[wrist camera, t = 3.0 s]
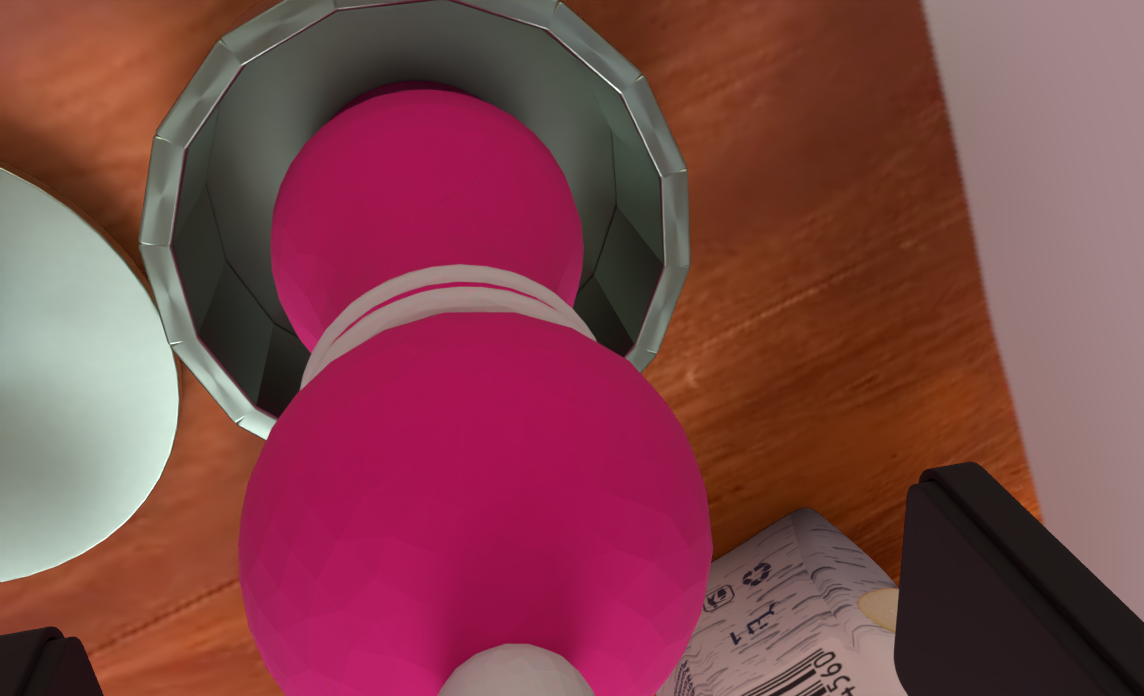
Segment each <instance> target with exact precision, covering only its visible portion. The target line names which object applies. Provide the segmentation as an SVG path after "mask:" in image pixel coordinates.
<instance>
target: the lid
mask: <svg viewBox="0 0 1144 696" xmlns="http://www.w3.org/2000/svg"><path fill="white" fill-rule="evenodd" d="M182 398H183V389H182V374H181V364H180V360H179V357H178V356H177V355H176V353H175V352H174V351H173V350H172V349H171V347H170V345H169V344H168V342H167V339H166V335H165V332H164V329H163V326H162V322H161V319H160V316H159V312H158V309H157V306H156V303H155V299H154V296H153V293H152V289H151V286H150V284H149V282H148V281H147V279H146V278H145V276H144V275H143V274H142V272H141V271H140V270H139V268H138V267H137V265H136V264H135V263H134V261H133V260H132V258H131V257H130V256H129V254H128V253H127V252H126V251H125V250H124V249H123V248H122V247H121V246H120V245H119V244H118V243H117V242H116V240H115V239H114V238H113V237H112V236H111V235H110V234H109V233H108V232H107V231H106V230H105V229H104V228H103V227H102V226H101V225H100V224H98V223H97V222H96V221H95V220H94V219H93V218H91V217H90V216H89V215H88V214H87V213H86V212H84V211H83V210H82V209H81V208H80V207H79V206H77V205H76V204H75V203H73V202H72V201H70V200H69V199H67V198H66V197H64V196H63V195H61V194H60V193H58V192H57V191H56V190H54V189H53V188H51V187H50V186H48V185H47V184H45V183H44V182H42V181H40V180H38V179H36V178H34V177H32V176H30V175H29V174H27V173H25V172H23V171H21V170H19V169H17V168H15V167H14V166H12V165H10V164H8V163H5V162H3V161H0V583H1V582H5V581H9V580H14V579H18V578H22V577H26V576H30V575H33V574H36V573H39V572H41V571H44V570H47V569H50V568H53V567H56V566H58V565H60V564H62V563H64V562H66V561H69V560H71V559H73V558H75V557H77V556H79V555H81V554H83V553H85V552H86V551H88V550H89V549H91V548H92V547H94V546H95V545H97V544H99V543H100V542H102V541H103V540H105V539H106V538H108V537H109V536H110V535H111V534H113V533H114V532H115V531H116V530H117V529H118V528H120V527H121V526H122V525H123V524H124V523H125V522H127V521H128V520H129V519H130V518H131V517H132V515H133V514H134V513H135V512H136V511H137V510H138V509H139V507H140V506H141V505H142V504H143V503H144V502H145V501H146V500H147V498H148V496H149V495H150V493H151V492H152V490H153V489H154V487H155V486H156V484H157V482H158V481H159V479H160V478H161V476H162V474H163V471H164V469H165V467H166V464H167V462H168V460H169V458H170V455H171V453H172V450H173V447H174V444H175V440H176V436H177V432H178V428H179V424H180V420H181V409H182Z"/></svg>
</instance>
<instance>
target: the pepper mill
mask: <svg viewBox="0 0 1144 696" xmlns="http://www.w3.org/2000/svg"><path fill="white" fill-rule="evenodd" d="M583 251H584V247H583V236H582V225H581V220H580V217H579V214H578V211H577V208H576V205H575V202H574V199H573V196H572V193H571V190H570V187H569V185H568V182H567V180H566V177H565V174H564V173H563V171H562V169H561V168H560V166H559V165H558V163H557V161H556V160H555V158H554V157H553V155H552V153H551V152H550V150H549V149H548V148H547V147H546V146H545V145H544V143H543V142H542V141H541V140H540V139H539V138H538V137H537V136H536V135H535V133H534V132H532V131H531V130H530V129H529V128H527V127H526V126H525V125H524V124H522V123H521V122H520V121H519V120H517V119H516V118H515V117H514V116H512V115H510V114H508V113H506V112H505V111H503V110H501V109H499V108H497V107H496V106H494V105H492V104H490V103H487V102H485V101H482V100H481V99H480V98H478V97H477V96H475V95H473V94H471V93H468V92H466V91H464V90H462V89H459V88H457V87H454V86H451V85H447V84H442V83H437V82H432V81H401V82H396V83H392V84H387V85H383V86H380V87H377V88H375V89H372V90H370V91H368V92H365V93H363V94H361V95H359V96H358V97H356V98H355V99H353V100H352V101H350V102H349V103H347V104H346V105H345V106H344V107H342V108H341V109H340V110H339V111H338V112H337V113H335V115H334V116H333V117H332V118H331V119H330V120H329V122H328V123H326V124H325V125H324V126H323V127H322V128H321V129H320V130H319V131H318V132H317V133H315V134H314V135H313V136H312V137H311V138H310V139H309V140H308V141H307V142H306V143H305V145H304V146H303V147H302V149H301V150H300V152H299V153H298V154H297V156H296V157H295V158H294V160H293V161H292V163H291V164H290V166H289V168H288V170H287V172H286V174H285V177H284V179H283V181H282V183H281V185H280V187H279V191H278V194H277V198H276V201H275V205H274V209H273V217H272V227H271V262H272V273H273V277H274V281H275V285H276V289H277V293H278V297H279V300H280V302H281V304H282V306H283V308H284V310H285V312H286V314H287V316H288V318H289V320H290V322H291V324H292V326H293V328H294V330H295V331H296V333H297V335H298V337H299V339H300V340H301V341H302V343H303V344H304V345H305V346H306V348H307V349H308V350H309V351H310V353H311V356H310V358H309V361H308V363H307V366H306V369H305V371H304V374H303V377H302V382H301V387H300V391H299V392H298V393H297V395H296V396H295V397H294V399H293V400H292V401H291V403H290V404H289V405H288V407H287V408H286V409H285V411H284V412H283V413H282V415H281V416H280V417H279V419H278V420H277V421H276V423H275V424H274V425H273V427H272V428H271V431H270V433H269V435H268V437H267V440H266V442H265V444H264V447H263V449H262V451H261V454H260V456H259V458H258V461H257V463H256V465H255V468H254V470H253V472H252V475H251V477H250V479H249V482H248V485H247V490H246V495H245V500H244V505H243V510H242V515H241V524H240V534H239V544H238V546H239V579H240V584H241V589H242V595H243V600H244V605H245V610H246V615H247V620H248V625H249V628H250V631H251V633H252V636H253V638H254V640H255V643H256V645H257V648H258V650H259V652H260V655H261V657H262V659H263V662H264V664H265V667H266V668H267V669H268V671H269V672H270V674H271V675H272V676H273V678H274V679H275V681H276V682H277V684H278V685H279V686H280V688H281V689H282V691H283V692H284V693H285V695H286V696H653V695H654V694H655V693H656V692H657V691H658V690H659V688H660V687H661V686H662V685H663V684H664V683H665V681H666V680H667V679H668V678H669V676H670V675H671V673H672V671H673V670H674V668H675V667H676V665H677V664H678V662H679V660H680V659H681V657H682V656H683V654H684V652H685V650H686V648H687V645H688V643H689V641H690V638H691V636H692V634H693V631H694V629H695V627H696V625H697V622H698V620H699V618H700V615H701V612H702V608H703V604H704V600H705V595H706V589H707V583H708V578H709V572H710V566H711V560H712V554H713V543H712V534H711V525H710V517H709V508H708V500H707V493H706V488H705V485H704V482H703V479H702V476H701V473H700V470H699V467H698V464H697V461H696V458H695V456H694V453H693V451H692V448H691V446H690V443H689V441H688V438H687V436H686V433H685V431H684V429H683V427H682V426H681V424H680V423H679V421H678V420H677V418H676V417H675V415H674V414H673V412H672V411H671V409H670V408H669V406H668V404H667V403H666V402H665V401H664V399H663V398H662V397H661V396H660V395H659V393H658V392H657V391H656V390H655V389H654V388H653V387H652V386H651V385H650V383H649V382H648V381H647V380H646V379H645V378H644V377H643V376H642V374H641V373H640V372H639V371H638V370H637V369H636V368H635V367H634V365H633V364H632V363H631V362H630V361H629V360H627V359H625V358H623V357H622V356H620V355H618V354H616V353H615V352H613V351H611V350H610V349H608V348H606V347H604V346H603V345H601V344H599V343H597V341H596V339H595V337H594V335H593V334H592V333H591V331H590V330H589V328H588V327H587V325H586V324H585V323H584V321H583V320H582V319H581V318H580V317H579V316H578V314H577V313H576V312H575V311H574V310H573V309H572V308H573V305H574V301H575V297H576V294H577V290H578V287H579V282H580V277H581V272H582V263H583Z"/></svg>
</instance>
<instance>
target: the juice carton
mask: <svg viewBox="0 0 1144 696" xmlns="http://www.w3.org/2000/svg"><path fill="white" fill-rule="evenodd" d="M898 595H899V588H898V586H897V585H896V584H895V583H894V582H893V581H892V580H891V578H890V577H889V576H888V575H887V574H886V573H885V572H884V571H883V570H882V569H881V568H880V567H879V566H878V565H877V564H876V563H875V562H874V561H873V560H872V559H871V558H870V557H869V556H868V555H867V554H866V553H864V552H863V551H862V550H861V549H860V548H859V547H858V546H857V545H855V544H854V543H853V542H852V541H851V540H850V539H849V538H848V537H846V536H845V535H844V534H843V533H842V532H841V531H839V530H838V529H837V528H836V527H835V526H834V525H832V524H831V523H830V522H829V521H828V520H826V519H825V518H824V517H823V516H822V515H820V514H819V513H817V512H816V511H815V510H812V509H810V508H802V509H798V510H796V511H794V512H792V513H790V514H789V515H787V516H785V517H783V518H782V519H780V520H778V521H777V522H775V523H773V524H772V525H770V526H769V527H767V528H766V529H764V530H762V531H761V532H759V533H758V534H756V535H755V536H753V537H752V538H750V539H749V540H747V541H746V542H744V543H743V544H741V545H739V546H738V547H736V548H735V549H733V550H732V551H730V552H728V553H727V554H725V555H724V556H722V557H720V558H719V559H717V560H715V561H713V562H712V563H711V566H710V572H709V578H708V583H707V589H706V595H705V600H704V604H703V608H702V612H701V615H700V618H699V620H698V622H697V625H696V627H695V629H694V631H693V634H692V636H691V638H690V641H689V643H688V645H687V648H686V650H685V652H684V654H683V656H682V657H681V659H680V660H679V662H678V664H677V665H676V667H675V668H674V670H673V671H672V673H671V675H670V676H669V678H668V679H667V680H666V681H665V683H664V684H663V685H662V686H661V687H660V688H659V690H658V691H657V692H656V695H657V696H908V695H907V693H906V692H905V690H904V689H903V687H902V685H901V683H900V681H899V679H898V676H897V673H896V670H895V665H894V642H895V630H896V619H897V607H898Z"/></svg>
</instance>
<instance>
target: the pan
mask: <svg viewBox="0 0 1144 696" xmlns="http://www.w3.org/2000/svg"><path fill="white" fill-rule="evenodd" d="M401 81H432V82H437V83H442V84H447V85H451V86H454V87H457V88H459V89H462V90H464V91H466V92H468V93H471V94H473V95H475V96H477V97H478V98H480V99H481V100H482V101H485V102H487V103H490V104H492V105H494V106H496V107H497V108H499V109H501V110H503V111H505V112H506V113H508V114H510V115H512V116H514V117H515V118H516V119H517V120H519V121H520V122H521V123H522V124H524V125H525V126H526V127H527V128H529V129H530V130H531V131H532V132H534V133H535V135H536V136H537V137H538V138H539V139H540V140H541V141H542V142H543V143H544V145H545V146H546V147H547V148H548V149H549V150H550V152H551V153H552V155H553V157H554V158H555V160H556V161H557V163H558V165H559V166H560V168H561V169H562V171H563V173H564V174H565V177H566V180H567V182H568V185H569V187H570V190H571V193H572V196H573V199H574V202H575V205H576V208H577V211H578V214H579V217H580V220H581V225H582V236H583V247H584V251H583V263H582V272H581V277H580V282H579V287H578V290H577V294H576V297H575V301H574V305H573V308H572V309H573V310H574V311H575V312H576V313H577V314H578V316H579V317H580V318H581V319H582V320H583V321H584V323H585V324H586V325H587V327H588V328H589V330H590V331H591V333H592V334H593V335H594V337H595V339H596V341H597V343H599V344H601V345H603V346H604V347H606V348H608V349H610V350H611V351H613V352H615V353H616V354H618V355H620V356H622V357H623V358H625V359H627V360H629V361H630V362H631V363H632V364H633V365H634V367H635V368H636V369H637V370H638V371H639V372H640V373H642V371H643V370H644V369H645V368H646V367H647V366H648V365H649V364H650V362H651V361H652V360H653V359H654V358H655V357H656V353H658V352H659V349H660V346H661V344H662V341H663V338H664V336H665V333H666V330H667V328H668V325H669V322H670V320H671V317H672V314H673V312H674V309H675V306H676V304H677V301H678V298H679V296H680V293H681V290H682V288H683V285H684V282H685V280H686V277H687V274H688V271H689V269H690V266H689V265H690V264H691V256H690V223H689V190H688V170H687V168H686V163H685V161H684V158H683V156H682V154H681V152H680V150H679V148H678V145H677V143H676V141H675V139H674V137H673V135H672V133H671V130H670V128H669V126H668V124H667V122H666V120H665V118H664V115H663V113H662V111H661V109H660V107H659V105H658V103H657V100H656V98H655V96H654V94H653V92H652V90H651V87H650V85H649V83H648V81H647V79H646V77H645V76H644V75H643V74H642V72H641V70H640V69H639V68H637V67H636V66H635V65H634V64H633V63H632V62H631V61H630V60H628V59H627V58H626V57H625V56H624V55H623V54H622V53H620V52H619V51H618V50H617V49H616V48H615V47H614V46H613V45H611V44H610V43H609V42H608V41H607V40H606V39H605V38H603V37H602V36H601V35H600V34H599V33H598V32H597V31H596V30H594V29H593V28H592V27H591V26H590V25H589V24H588V23H586V22H585V21H584V20H583V19H582V18H581V17H580V16H579V15H577V14H576V13H575V12H574V11H573V10H572V9H571V8H569V7H568V6H567V5H566V4H565V3H564V2H562V1H561V0H262V1H260V2H259V3H257V4H255V5H254V6H252V7H250V8H249V9H248V10H247V11H246V12H245V13H243V14H242V15H241V16H240V17H239V19H238V20H237V21H236V22H235V23H234V24H233V25H232V26H231V27H230V28H229V29H228V30H227V31H226V32H225V33H224V34H223V35H222V36H221V37H220V38H219V39H218V40H217V41H216V43H215V44H214V45H213V47H212V48H211V50H210V51H209V53H208V54H207V56H206V57H205V59H204V60H203V62H202V63H201V65H200V66H199V68H198V69H197V71H196V72H195V74H194V75H193V76H192V78H191V79H190V81H189V82H188V84H187V85H186V87H185V88H184V90H183V91H182V93H181V94H180V96H179V97H178V99H177V100H176V102H175V103H174V104H173V106H172V107H171V109H170V110H169V112H168V113H167V115H166V116H165V118H164V119H163V121H162V122H161V124H160V125H159V127H158V128H157V130H156V133H155V136H154V137H153V142H152V149H151V156H150V162H149V169H148V176H147V183H146V190H145V197H144V204H143V211H142V218H141V224H140V231H139V238H138V240H139V243H140V244H139V250H140V253H141V256H142V260H143V263H144V266H145V270H146V273H147V276H148V279H149V283H150V286H151V289H152V293H153V296H154V299H155V303H156V306H157V309H158V312H159V316H160V319H161V322H162V326H163V329H164V332H165V335H166V339H167V342H168V344H169V345H170V347H171V349H172V350H173V351H174V352H175V353H176V355H177V356H178V357H179V358H180V359H181V361H182V362H183V363H184V364H185V365H186V366H187V368H188V369H189V370H190V371H191V372H192V374H193V375H194V376H195V377H196V378H197V379H198V381H199V382H200V383H201V384H202V385H203V387H204V388H205V389H206V390H207V391H208V392H209V394H210V395H211V396H212V397H213V398H214V400H215V401H216V402H217V403H218V404H219V405H220V407H221V408H222V409H223V410H224V411H225V413H226V414H227V415H228V416H229V417H230V418H231V420H232V421H233V422H234V423H236V424H237V425H238V426H240V427H242V428H243V429H245V430H247V431H249V432H251V433H253V434H254V435H256V436H258V437H260V438H262V439H264V440H265V441H266V440H267V437H268V435H269V433H270V431H271V428H272V427H273V425H274V424H275V423H276V421H277V420H278V419H279V417H280V416H281V415H282V413H283V412H284V411H285V409H286V408H287V407H288V405H289V404H290V403H291V401H292V400H293V399H294V397H295V396H296V395H297V393H298V392H299V391H300V387H301V382H302V377H303V374H304V371H305V369H306V366H307V363H308V361H309V358H310V356H311V353H310V351H309V350H308V349H307V348H306V346H305V345H304V344H303V343H302V341H301V340H300V339H299V337H298V335H297V333H296V331H295V330H294V328H293V326H292V324H291V322H290V320H289V318H288V316H287V314H286V312H285V310H284V308H283V306H282V304H281V302H280V300H279V297H278V293H277V289H276V285H275V281H274V277H273V273H272V262H271V227H272V217H273V209H274V205H275V201H276V198H277V194H278V191H279V187H280V185H281V183H282V181H283V179H284V177H285V174H286V172H287V170H288V168H289V166H290V164H291V163H292V161H293V160H294V158H295V157H296V156H297V154H298V153H299V152H300V150H301V149H302V147H303V146H304V145H305V143H306V142H307V141H308V140H309V139H310V138H311V137H312V136H313V135H314V134H315V133H317V132H318V131H319V130H320V129H321V128H322V127H323V126H324V125H325V124H326V123H328V122H329V120H330V119H331V118H332V117H333V116H334V115H335V113H337V112H338V111H339V110H340V109H341V108H342V107H344V106H345V105H346V104H347V103H349V102H350V101H352V100H353V99H355V98H356V97H358V96H359V95H361V94H363V93H365V92H368V91H370V90H372V89H375V88H377V87H380V86H383V85H387V84H392V83H396V82H401Z"/></svg>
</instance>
